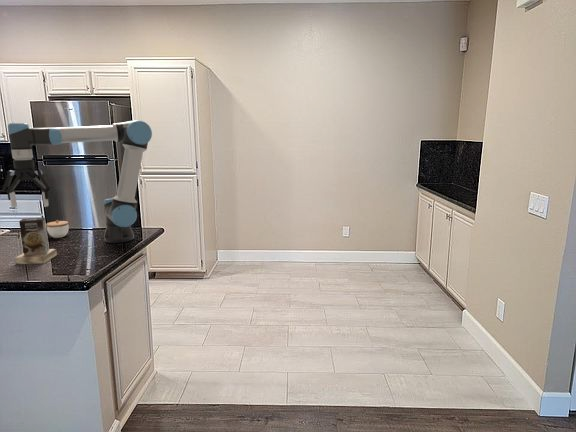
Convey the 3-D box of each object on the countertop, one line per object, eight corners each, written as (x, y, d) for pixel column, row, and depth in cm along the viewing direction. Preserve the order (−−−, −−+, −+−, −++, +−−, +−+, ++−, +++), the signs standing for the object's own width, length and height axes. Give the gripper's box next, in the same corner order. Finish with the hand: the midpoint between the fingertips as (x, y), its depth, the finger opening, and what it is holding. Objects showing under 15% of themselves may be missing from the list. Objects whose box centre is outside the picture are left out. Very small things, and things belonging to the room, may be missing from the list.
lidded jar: (51, 234, 220) (49, 218, 218) (72, 233, 223) (70, 217, 221) (45, 239, 210) (42, 222, 208) (67, 238, 213) (64, 221, 211)
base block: (57, 254, 184) (56, 248, 183) (44, 263, 172) (43, 256, 172) (30, 255, 183) (29, 249, 182) (15, 264, 171) (14, 257, 171)
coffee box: (23, 256, 172) (18, 221, 169) (27, 252, 178) (21, 218, 175) (47, 253, 176) (42, 219, 172) (49, 249, 182) (45, 216, 178)
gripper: (-13, 160, 163) (-5, 209, 168) (49, 159, 166) (55, 207, 171) (-2, 159, 171) (5, 205, 175) (57, 158, 173) (63, 204, 178)
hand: (30, 206), depth 173 cm, fingers open, 13 cm apart
